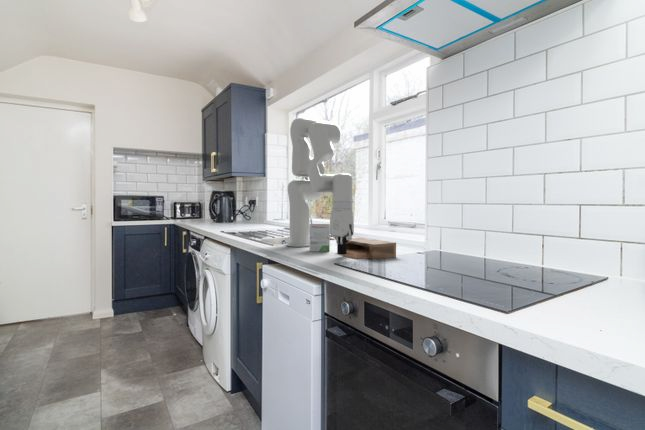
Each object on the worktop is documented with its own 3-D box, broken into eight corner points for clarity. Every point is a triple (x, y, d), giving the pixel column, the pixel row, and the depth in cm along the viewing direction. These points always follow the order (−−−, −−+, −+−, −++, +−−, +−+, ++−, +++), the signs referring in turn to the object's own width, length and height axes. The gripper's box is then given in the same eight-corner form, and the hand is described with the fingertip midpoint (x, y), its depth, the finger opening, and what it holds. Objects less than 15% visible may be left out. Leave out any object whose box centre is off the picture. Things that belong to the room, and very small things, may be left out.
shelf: (338, 252, 146) (339, 238, 145) (359, 250, 152) (360, 237, 152) (373, 259, 127) (373, 244, 127) (395, 257, 133) (396, 242, 133)
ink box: (309, 251, 148) (309, 223, 147) (310, 249, 153) (310, 223, 153) (329, 251, 147) (329, 224, 147) (330, 250, 152) (330, 223, 152)
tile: (341, 256, 137) (342, 250, 137) (369, 254, 145) (369, 248, 145) (356, 260, 129) (356, 253, 129) (384, 257, 137) (384, 251, 137)
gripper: (323, 206, 136) (323, 252, 137) (346, 206, 124) (345, 257, 125) (338, 206, 141) (338, 251, 141) (362, 206, 128) (362, 256, 129)
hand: (341, 254), depth 133 cm, fingers closed
